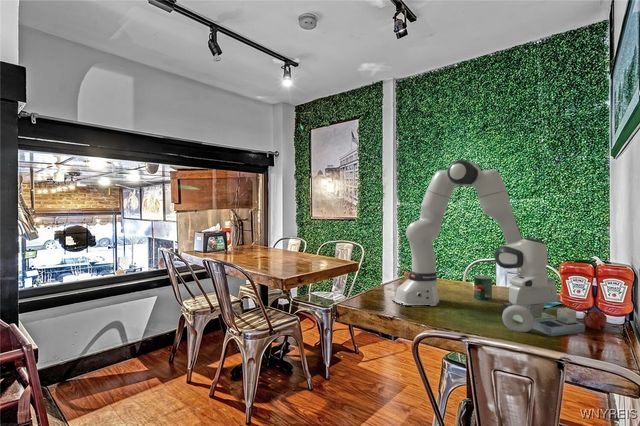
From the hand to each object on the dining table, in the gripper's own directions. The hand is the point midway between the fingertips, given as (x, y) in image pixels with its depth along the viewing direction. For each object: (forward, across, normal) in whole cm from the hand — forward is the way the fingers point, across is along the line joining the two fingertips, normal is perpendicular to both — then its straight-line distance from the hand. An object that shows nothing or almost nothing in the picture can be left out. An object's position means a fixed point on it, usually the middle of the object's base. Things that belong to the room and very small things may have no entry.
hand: (533, 314), depth 133 cm
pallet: (+3, 0, +10) cm, 11 cm away
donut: (+3, +14, +7) cm, 16 cm away
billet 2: (+2, -4, +10) cm, 11 cm away
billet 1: (+2, 0, 0) cm, 2 cm away
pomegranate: (+3, -16, +12) cm, 20 cm away
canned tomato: (+3, -5, -33) cm, 34 cm away
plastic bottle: (+3, -21, -24) cm, 32 cm away
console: (+3, -2, -10) cm, 11 cm away
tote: (+3, 0, 0) cm, 3 cm away
